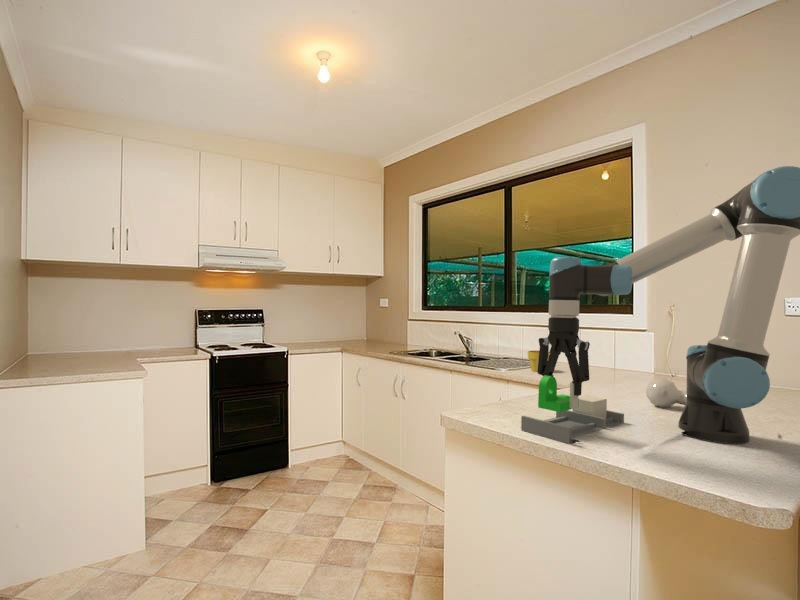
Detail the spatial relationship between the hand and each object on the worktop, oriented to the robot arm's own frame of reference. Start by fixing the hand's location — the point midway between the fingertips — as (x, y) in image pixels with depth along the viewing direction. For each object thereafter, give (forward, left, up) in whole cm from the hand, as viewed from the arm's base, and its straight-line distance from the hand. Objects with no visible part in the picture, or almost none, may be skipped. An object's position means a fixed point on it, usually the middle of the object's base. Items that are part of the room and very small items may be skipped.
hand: (561, 405), depth 119 cm
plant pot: (+70, -86, -7) cm, 111 cm away
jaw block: (0, -13, -6) cm, 14 cm away
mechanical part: (0, 0, -1) cm, 1 cm away
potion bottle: (-4, -56, -7) cm, 56 cm away
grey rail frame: (0, -5, -7) cm, 9 cm away
